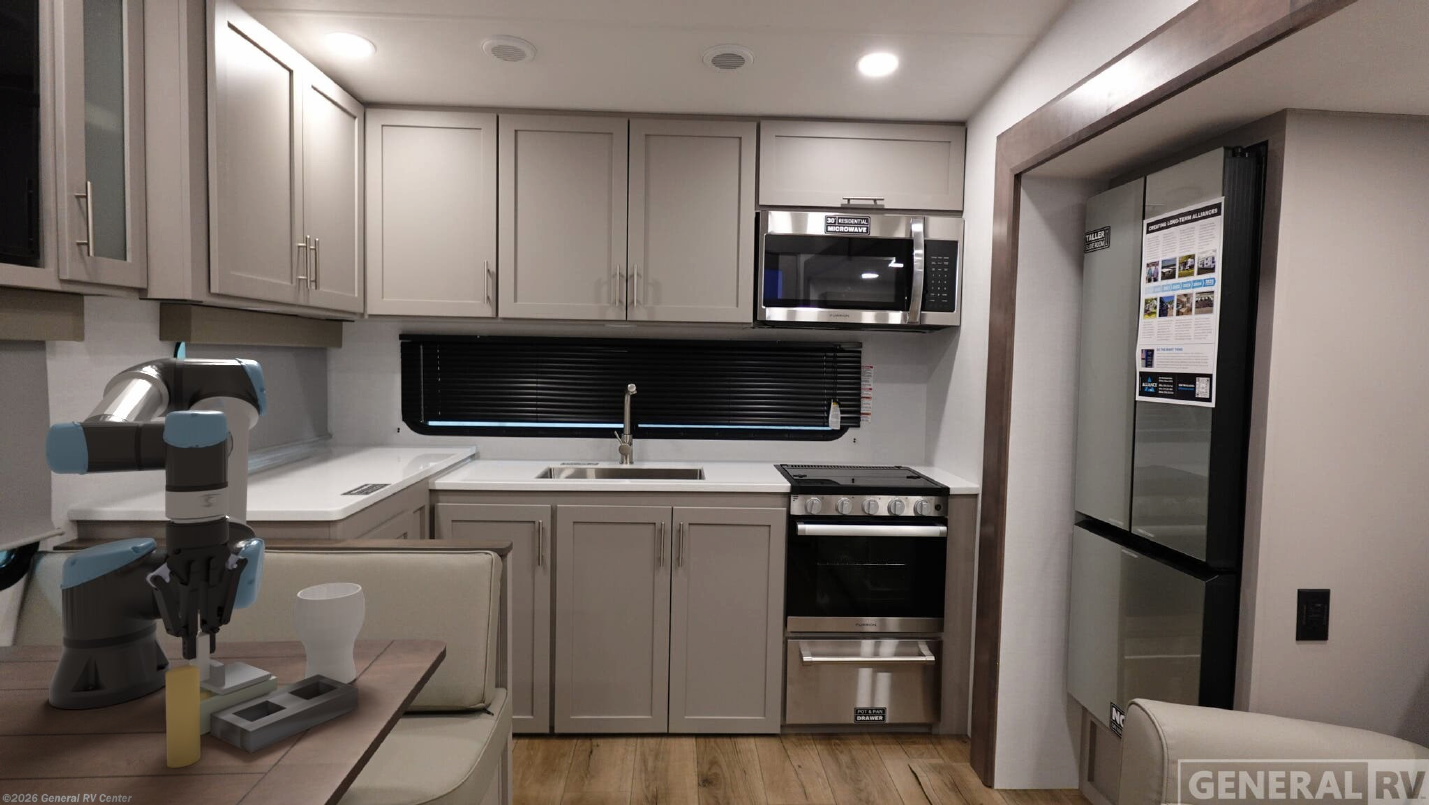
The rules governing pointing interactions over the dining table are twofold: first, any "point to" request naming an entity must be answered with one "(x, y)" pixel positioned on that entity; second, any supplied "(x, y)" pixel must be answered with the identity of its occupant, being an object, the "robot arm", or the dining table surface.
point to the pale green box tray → (229, 699)
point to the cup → (329, 628)
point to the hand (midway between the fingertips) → (199, 678)
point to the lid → (232, 677)
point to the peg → (183, 716)
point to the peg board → (283, 712)
